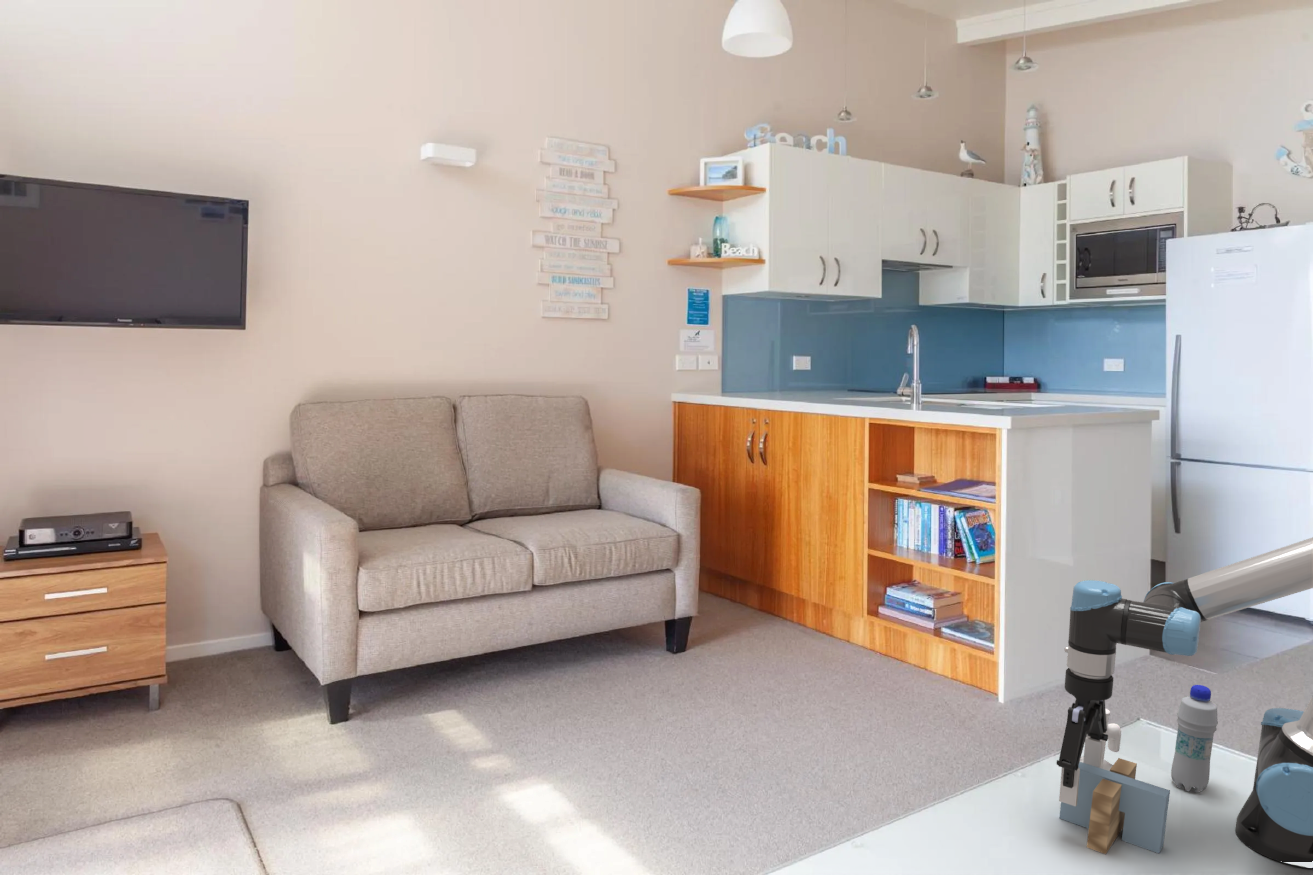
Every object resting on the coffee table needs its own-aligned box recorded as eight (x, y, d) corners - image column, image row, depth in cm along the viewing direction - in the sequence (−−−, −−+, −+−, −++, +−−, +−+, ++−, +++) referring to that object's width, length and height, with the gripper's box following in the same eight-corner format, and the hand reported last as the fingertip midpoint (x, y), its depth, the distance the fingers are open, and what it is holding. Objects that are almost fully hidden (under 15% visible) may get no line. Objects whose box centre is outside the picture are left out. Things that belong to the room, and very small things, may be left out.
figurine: (1127, 790, 182) (1136, 714, 180) (1085, 796, 180) (1094, 718, 177) (1099, 771, 189) (1107, 698, 187) (1058, 777, 186) (1067, 702, 184)
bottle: (1207, 798, 180) (1221, 696, 177) (1166, 787, 184) (1179, 686, 181) (1209, 784, 186) (1223, 684, 183) (1170, 773, 190) (1183, 675, 187)
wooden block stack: (1130, 816, 173) (1136, 763, 171) (1105, 854, 161) (1112, 797, 159) (1112, 810, 175) (1118, 757, 173) (1086, 847, 162) (1093, 790, 161)
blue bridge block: (1163, 845, 164) (1170, 790, 162) (1159, 853, 161) (1166, 796, 160) (1064, 811, 174) (1070, 758, 172) (1059, 817, 171) (1065, 764, 170)
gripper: (1087, 647, 179) (1078, 756, 182) (1043, 686, 160) (1034, 808, 163) (1131, 657, 175) (1121, 769, 178) (1092, 698, 155) (1081, 823, 158)
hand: (1079, 788), depth 170 cm, fingers open, 13 cm apart
